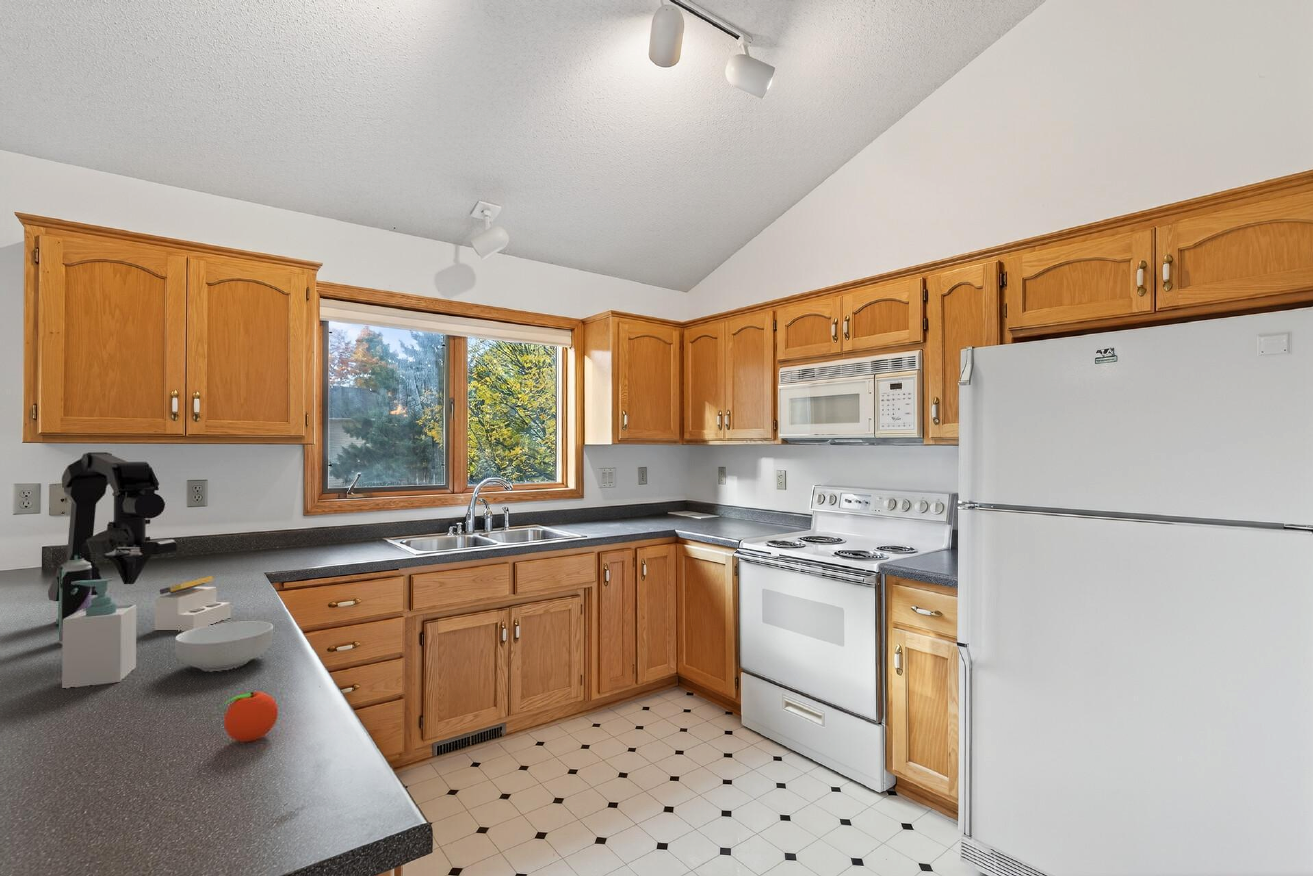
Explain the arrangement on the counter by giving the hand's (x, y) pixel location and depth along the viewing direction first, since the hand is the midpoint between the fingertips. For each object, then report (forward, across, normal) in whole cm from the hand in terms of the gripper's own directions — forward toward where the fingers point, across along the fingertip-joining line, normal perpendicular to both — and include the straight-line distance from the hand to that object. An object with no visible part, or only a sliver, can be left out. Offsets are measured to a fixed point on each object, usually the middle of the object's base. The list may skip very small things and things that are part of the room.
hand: (129, 584), depth 146 cm
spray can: (+13, -12, -1) cm, 18 cm away
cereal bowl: (+13, +35, -14) cm, 40 cm away
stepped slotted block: (+13, +4, +14) cm, 20 cm away
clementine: (+13, +63, -45) cm, 79 cm away
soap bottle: (+13, +16, -22) cm, 31 cm away
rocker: (+4, +2, +14) cm, 15 cm away
